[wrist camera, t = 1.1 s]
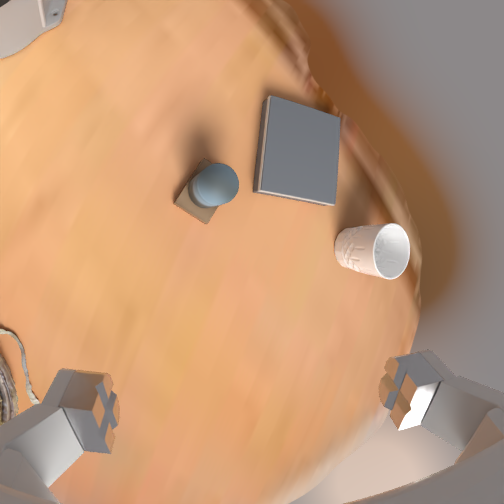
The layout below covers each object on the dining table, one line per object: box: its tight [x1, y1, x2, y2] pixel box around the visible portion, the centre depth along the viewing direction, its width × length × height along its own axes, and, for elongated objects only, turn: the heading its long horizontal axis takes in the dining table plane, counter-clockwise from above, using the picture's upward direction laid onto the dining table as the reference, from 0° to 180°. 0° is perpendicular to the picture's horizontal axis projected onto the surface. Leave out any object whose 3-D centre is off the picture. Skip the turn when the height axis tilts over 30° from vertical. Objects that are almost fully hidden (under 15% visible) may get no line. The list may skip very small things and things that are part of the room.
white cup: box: [334, 223, 410, 279], centre depth 47 cm, size 8×8×10 cm
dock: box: [253, 95, 340, 206], centre depth 46 cm, size 14×12×3 cm
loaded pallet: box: [174, 158, 239, 224], centre depth 39 cm, size 7×5×8 cm
